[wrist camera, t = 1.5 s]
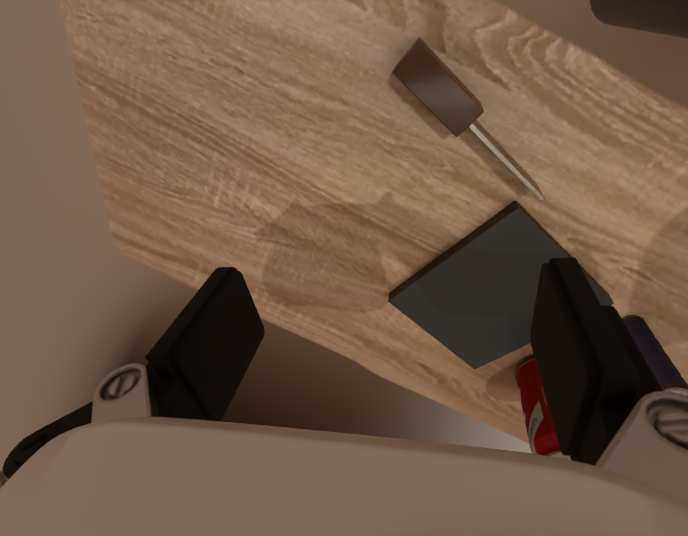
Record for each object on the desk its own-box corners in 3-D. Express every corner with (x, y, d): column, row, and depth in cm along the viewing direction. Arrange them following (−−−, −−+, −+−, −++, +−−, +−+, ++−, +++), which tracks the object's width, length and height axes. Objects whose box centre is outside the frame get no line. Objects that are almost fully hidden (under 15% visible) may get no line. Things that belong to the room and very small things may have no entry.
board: (515, 200, 34) (518, 207, 33) (608, 293, 38) (614, 303, 36) (389, 293, 43) (387, 301, 42) (473, 360, 47) (474, 369, 46)
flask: (596, 370, 44) (633, 458, 36) (572, 363, 44) (604, 449, 36) (651, 319, 38) (712, 409, 30) (624, 311, 38) (676, 399, 30)
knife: (395, 66, 29) (392, 72, 27) (419, 36, 28) (417, 40, 25) (522, 195, 33) (528, 210, 31) (548, 175, 32) (557, 190, 29)
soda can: (536, 344, 43) (564, 441, 34) (588, 364, 44) (629, 466, 34) (504, 375, 48) (520, 468, 38) (550, 393, 48) (578, 490, 38)
